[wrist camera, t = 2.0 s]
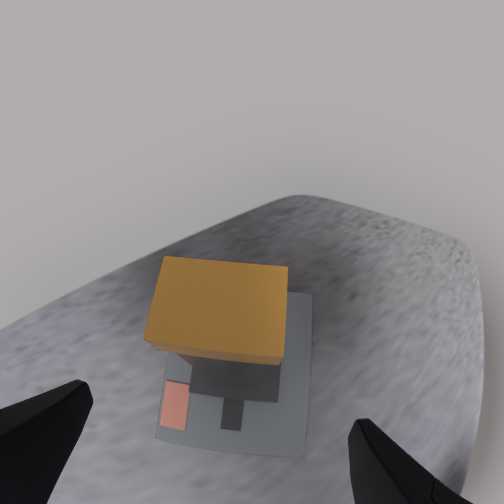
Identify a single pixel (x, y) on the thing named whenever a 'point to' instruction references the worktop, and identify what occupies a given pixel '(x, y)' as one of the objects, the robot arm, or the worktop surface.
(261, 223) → the worktop surface
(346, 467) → the worktop surface
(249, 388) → the breaker handle
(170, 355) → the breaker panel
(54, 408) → the robot arm
